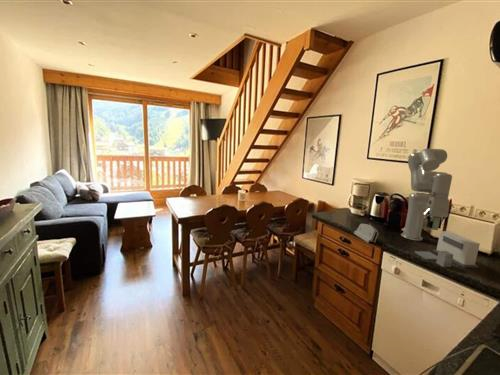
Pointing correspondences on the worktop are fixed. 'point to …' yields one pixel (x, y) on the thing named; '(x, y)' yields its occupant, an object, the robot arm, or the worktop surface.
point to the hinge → (367, 233)
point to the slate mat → (426, 255)
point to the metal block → (444, 258)
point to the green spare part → (435, 223)
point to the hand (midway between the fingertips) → (433, 227)
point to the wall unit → (458, 248)
